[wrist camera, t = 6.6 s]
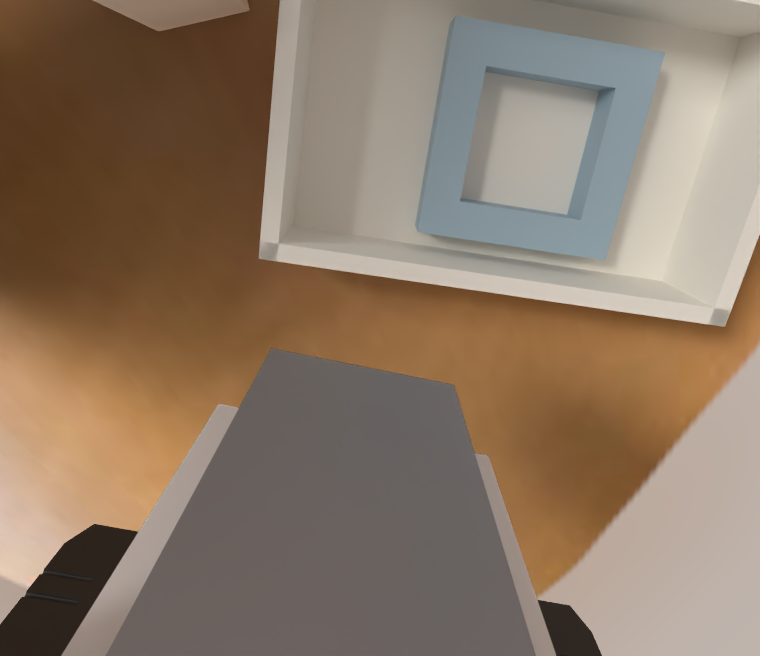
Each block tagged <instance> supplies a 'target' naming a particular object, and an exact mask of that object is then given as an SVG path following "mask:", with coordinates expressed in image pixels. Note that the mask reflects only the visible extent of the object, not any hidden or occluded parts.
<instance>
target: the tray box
mask: <svg viewBox="0 0 760 656" xmlns="http://www.w3.org/2000/svg"><path fill="white" fill-rule="evenodd" d="M759 235H760V0H280V4H279V16H278V28H277V41H276V53H275V65H274V77H273V89H272V101H271V113H270V126H269V138H268V150H267V162H266V174H265V186H264V198H263V211H262V223H261V235H260V247H259V259H264V260H270V261H277V262H284V263H291V264H298V265H305V266H311V267H318V268H325V269H332V270H339V271H346V272H353V273H359V274H366V275H373V276H380V277H387V278H394V279H400V280H407V281H414V282H421V283H428V284H435V285H442V286H448V287H455V288H462V289H469V290H476V291H483V292H489V293H496V294H503V295H510V296H517V297H524V298H531V299H537V300H544V301H551V302H558V303H565V304H572V305H579V306H585V307H592V308H599V309H606V310H613V311H620V312H626V313H633V314H640V315H647V316H654V317H661V318H668V319H674V320H681V321H688V322H695V323H702V324H709V325H715V326H722V327H725V326H726V323H727V320H728V318H729V315H730V312H731V310H732V307H733V304H734V302H735V299H736V296H737V294H738V291H739V288H740V286H741V283H742V280H743V278H744V275H745V272H746V270H747V267H748V264H749V262H750V259H751V256H752V254H753V251H754V248H755V246H756V243H757V240H758V238H759Z"/></svg>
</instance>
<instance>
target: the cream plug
mask: <svg viewBox="0 0 760 656" xmlns="http://www.w3.org/2000/svg"><path fill="white" fill-rule="evenodd" d="M93 1H95V2H97V3H99V4H101V5H103V6H105V7H108V8H110V9H112V10H114V11H116V12H118V13H120V14H122V15H124V16H127V17H129V18H131V19H133V20H135V21H137V22H139V23H141V24H144V25H146V26H148V27H150V28H152V29H154V30H156V31H158V32H159V31H164V30H168V29H172V28H177V27H181V26H186V25H190V24H194V23H199V22H203V21H208V20H212V19H216V18H221V17H225V16H230V15H234V14H238V13H243V12H247V11H250V8H249V4H248V0H93Z"/></svg>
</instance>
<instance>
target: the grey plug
mask: <svg viewBox="0 0 760 656" xmlns="http://www.w3.org/2000/svg"><path fill="white" fill-rule="evenodd" d="M106 656H536V654H535V651H534V648H533V644H532V641H531V638H530V634H529V631H528V628H527V624H526V621H525V618H524V615H523V611H522V608H521V605H520V601H519V598H518V595H517V591H516V588H515V585H514V581H513V578H512V575H511V572H510V568H509V565H508V562H507V558H506V555H505V552H504V548H503V545H502V542H501V538H500V535H499V532H498V528H497V525H496V522H495V519H494V515H493V512H492V509H491V505H490V502H489V499H488V495H487V492H486V489H485V485H484V482H483V479H482V476H481V472H480V469H479V466H478V462H477V459H476V456H475V452H474V449H473V446H472V442H471V439H470V436H469V433H468V429H467V426H466V423H465V419H464V416H463V413H462V409H461V406H460V403H459V399H458V396H457V393H456V390H455V386H454V385H453V384H448V383H443V382H438V381H433V380H428V379H423V378H418V377H413V376H408V375H403V374H398V373H393V372H388V371H383V370H378V369H373V368H368V367H363V366H358V365H353V364H348V363H343V362H338V361H333V360H328V359H323V358H318V357H312V356H307V355H302V354H297V353H292V352H287V351H282V350H277V349H272V348H271V350H270V351H269V353H268V355H267V357H266V359H265V361H264V363H263V364H262V366H261V368H260V370H259V372H258V374H257V376H256V377H255V379H254V381H253V383H252V385H251V387H250V389H249V390H248V392H247V394H246V396H245V398H244V400H243V402H242V403H241V405H240V407H239V409H238V411H237V413H236V415H235V416H234V418H233V420H232V422H231V424H230V426H229V428H228V429H227V431H226V433H225V435H224V437H223V439H222V441H221V442H220V444H219V446H218V448H217V450H216V452H215V454H214V455H213V457H212V459H211V461H210V463H209V465H208V467H207V468H206V470H205V472H204V474H203V476H202V478H201V480H200V481H199V483H198V485H197V487H196V489H195V491H194V493H193V494H192V496H191V498H190V500H189V502H188V504H187V506H186V507H185V509H184V511H183V513H182V515H181V517H180V519H179V520H178V522H177V524H176V526H175V528H174V530H173V532H172V533H171V535H170V537H169V539H168V541H167V543H166V545H165V546H164V548H163V550H162V552H161V554H160V556H159V558H158V559H157V561H156V563H155V565H154V567H153V569H152V571H151V572H150V574H149V576H148V578H147V580H146V582H145V584H144V585H143V587H142V589H141V591H140V593H139V595H138V597H137V598H136V600H135V602H134V604H133V606H132V608H131V610H130V611H129V613H128V615H127V617H126V619H125V621H124V623H123V624H122V626H121V628H120V630H119V632H118V634H117V636H116V637H115V639H114V641H113V643H112V645H111V647H110V649H109V650H108V652H107V654H106Z"/></svg>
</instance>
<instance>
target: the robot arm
mask: <svg viewBox="0 0 760 656" xmlns="http://www.w3.org/2000/svg"><path fill="white" fill-rule="evenodd" d="M238 409H239V408H238V407H233V406H228V405H223V404H218V405H217V407H216V409H215V410H214V412H213V413H212V415H211V417H210V418H209V420H208V421H207V423H206V425H205V426H204V428H203V429H202V431H201V433H200V434H199V436H198V437H197V439H196V441H195V442H194V444H193V445H192V447H191V449H190V450H189V452H188V453H187V455H186V457H185V458H184V460H183V461H182V463H181V465H180V466H179V468H178V469H177V471H176V473H175V474H174V476H173V477H172V479H171V481H170V482H169V484H168V485H167V487H166V489H165V490H164V492H163V493H162V495H161V497H160V498H159V500H158V501H157V503H156V505H155V506H154V508H153V509H152V511H151V513H150V514H149V516H148V517H147V519H146V521H145V522H144V524H143V525H142V527H141V529H140V530H139V532H137V531H131V530H126V529H120V528H114V527H108V526H103V525H97V524H94V525H92V526H90V527H89V528H87V529H86V530H84V531H83V532H81V533H80V534H78V535H77V536H75V537H73V538H72V539H70V540H69V541H67V542H66V543H64V545H63V546H62V547H61V548H60V550H59V551H58V552H57V553H56V555H55V556H54V557H53V559H52V560H51V561H50V562H49V564H48V565H47V566H46V567H45V569H44V572H43V574H42V575H41V574H40V575H39V576H38V577H37V579H36V580H35V581H34V583H33V584H32V585H31V586H30V588H29V589H28V590H27V592H26V595H25V597H22V598H21V599H20V600H19V601H18V603H17V604H16V605H15V607H14V608H13V609H12V610H11V612H10V613H9V614H8V615H7V617H6V618H5V619H4V620H3V622H2V623H1V624H0V656H106V654H107V652H108V650H109V649H110V647H111V645H112V643H113V641H114V639H115V637H116V636H117V634H118V632H119V630H120V628H121V626H122V624H123V623H124V621H125V619H126V617H127V615H128V613H129V611H130V610H131V608H132V606H133V604H134V602H135V600H136V598H137V597H138V595H139V593H140V591H141V589H142V587H143V585H144V584H145V582H146V580H147V578H148V576H149V574H150V572H151V571H152V569H153V567H154V565H155V563H156V561H157V559H158V558H159V556H160V554H161V552H162V550H163V548H164V546H165V545H166V543H167V541H168V539H169V537H170V535H171V533H172V532H173V530H174V528H175V526H176V524H177V522H178V520H179V519H180V517H181V515H182V513H183V511H184V509H185V507H186V506H187V504H188V502H189V500H190V498H191V496H192V494H193V493H194V491H195V489H196V487H197V485H198V483H199V481H200V480H201V478H202V476H203V474H204V472H205V470H206V468H207V467H208V465H209V463H210V461H211V459H212V457H213V455H214V454H215V452H216V450H217V448H218V446H219V444H220V442H221V441H222V439H223V437H224V435H225V433H226V431H227V429H228V428H229V426H230V424H231V422H232V420H233V418H234V416H235V415H236V413H237V411H238ZM475 456H476V459H477V462H478V466H479V469H480V472H481V476H482V479H483V482H484V485H485V489H486V492H487V495H488V499H489V502H490V505H491V509H492V512H493V515H494V519H495V522H496V525H497V528H498V532H499V535H500V538H501V542H502V545H503V548H504V552H505V555H506V558H507V562H508V565H509V568H510V572H511V575H512V578H513V581H514V585H515V588H516V591H517V595H518V598H519V601H520V605H521V608H522V611H523V615H524V618H525V621H526V624H527V628H528V631H529V634H530V638H531V641H532V644H533V648H534V651H535V654H536V656H602V655H601V653H600V650H599V648H598V646H597V644H596V641H595V639H594V637H593V634H592V632H591V631H590V630H589V628H588V627H587V626H586V625H585V624H584V622H583V621H582V620H581V619H580V618H579V616H578V615H577V614H576V613H575V611H574V610H573V609H572V608H571V607H570V606H569V605H563V604H558V603H552V602H546V601H541V600H537V597H536V594H535V592H534V589H533V586H532V583H531V580H530V577H529V574H528V571H527V568H526V565H525V562H524V559H523V556H522V553H521V550H520V547H519V545H518V542H517V539H516V536H515V533H514V530H513V527H512V524H511V521H510V518H509V515H508V512H507V509H506V506H505V503H504V500H503V498H502V495H501V492H500V489H499V486H498V483H497V480H496V477H495V474H494V471H493V468H492V465H491V462H490V459H489V456H488V455H483V454H478V453H475Z"/></svg>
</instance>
